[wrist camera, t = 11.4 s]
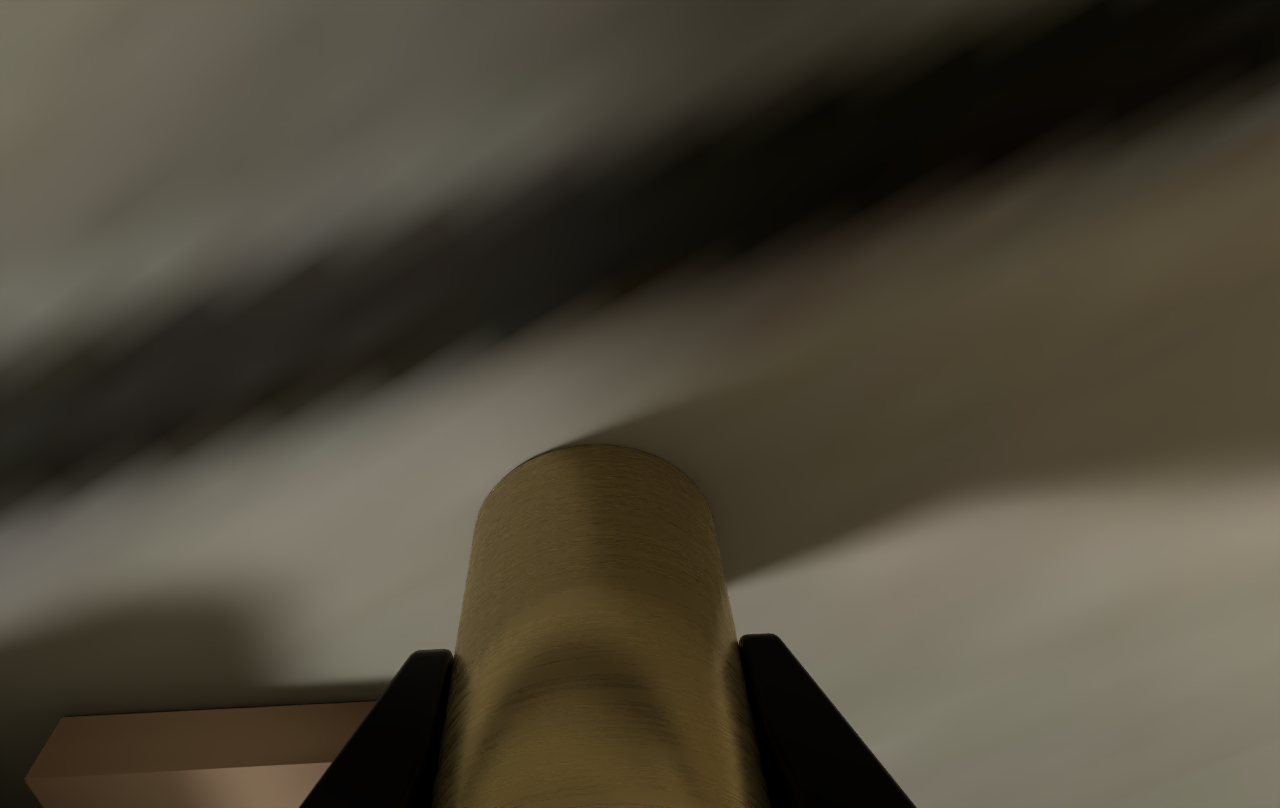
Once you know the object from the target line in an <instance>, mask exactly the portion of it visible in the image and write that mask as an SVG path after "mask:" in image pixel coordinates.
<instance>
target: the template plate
mask: <svg viewBox="0 0 1280 808" xmlns="http://www.w3.org/2000/svg"><path fill="white" fill-rule="evenodd" d="M376 702H377V701H370V702H351V703H331V704H312V705H293V706H273V707H254V708H234V709H215V710H195V711H176V712H157V713H137V714H118V715H98V716H79V717H62V718H61V719H60V721H59V723H58V724H57V726H56V728H55V729H54V731H53V732H52V734H51V736H50V737H49V739H48V741H47V742H46V744H45V746H44V747H43V749H42V751H41V752H40V754H39V755H38V757H37V759H36V760H35V762H34V764H33V765H32V767H31V769H30V770H29V772H28V774H27V775H26V777H25V778H24V780H25V781H26V783H27V784H28V786H29V787H30V789H31V790H32V792H33V793H34V795H35V796H36V798H37V799H38V801H39V802H40V804H41V805H42V807H43V808H299V807H300V805H301V804H302V803H303V801H304V800H305V799H306V797H307V796H308V794H309V793H310V792H311V790H312V789H313V788H314V786H315V785H316V783H317V782H318V781H319V779H320V778H321V777H322V775H323V774H324V773H325V771H326V770H327V768H328V767H329V766H330V764H331V763H332V762H333V760H334V759H335V758H336V756H337V755H338V753H339V752H340V751H341V749H342V748H343V747H344V745H345V744H346V743H347V741H348V740H349V738H350V737H351V736H352V734H353V733H354V732H355V730H356V729H357V727H358V726H359V725H360V723H361V722H362V721H363V719H364V718H365V717H366V715H367V714H368V712H369V711H370V710H371V708H372V707H373V706H374V704H375V703H376Z"/></svg>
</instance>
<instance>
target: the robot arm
mask: <svg viewBox="0 0 1280 808" xmlns="http://www.w3.org/2000/svg"><path fill="white" fill-rule="evenodd" d="M739 651H740V656H741V661H742V666H743V671H744V676H745V681H746V685H747V690H748V695H749V700H750V705H751V710H752V715H753V720H754V725H755V730H756V735H757V740H758V745H759V750H760V754H761V759H762V764H763V769H764V774H765V779H766V784H767V789H768V794H769V799H770V804H771V808H917V807H916V806H915V805H914V804H913V802H912V801H911V800H910V799H909V798H908V796H907V795H906V794H905V793H904V791H903V790H902V789H901V788H900V786H899V785H898V784H897V783H896V781H895V780H894V779H893V778H892V776H891V775H890V774H889V773H888V771H887V770H886V769H885V768H884V767H883V765H882V764H881V763H880V762H879V760H878V759H877V758H876V757H875V755H874V754H873V753H872V752H871V750H870V749H869V748H868V747H867V745H866V744H865V743H864V742H863V741H862V739H861V738H860V737H859V736H858V734H857V733H856V732H855V731H854V729H853V728H852V727H851V726H850V724H849V723H848V722H847V721H846V719H845V718H844V717H843V716H842V714H841V713H840V712H839V711H838V710H837V708H836V707H835V706H834V705H833V703H832V702H831V701H830V700H829V698H828V697H827V696H826V695H825V693H824V692H823V691H822V690H821V688H820V687H819V686H818V685H817V683H816V682H815V681H814V680H813V679H812V677H811V676H810V675H809V674H808V672H807V671H806V670H805V669H804V667H803V666H802V665H801V664H800V662H799V661H798V660H797V659H796V657H795V656H794V655H793V654H792V653H791V651H790V650H789V649H788V648H787V646H786V645H785V644H784V643H783V641H782V640H781V639H780V638H779V637H778V636H777V635H775V634H770V633H768V634H747V635H744V636H742V637H741V638H740V641H739ZM453 661H454V658H453V655H452V653H451V651H449V650H446V649H434V650H419V651H416V652H414V653H412V654H411V655H410V657H409V658H408V659H407V661H406V662H405V663H404V665H403V666H402V667H401V669H400V670H399V671H398V673H397V674H396V676H395V677H394V678H393V680H392V681H391V682H390V684H389V685H388V686H387V688H386V689H385V691H384V692H383V693H382V695H381V696H380V697H379V699H378V700H377V702H376V703H375V704H374V706H373V707H372V708H371V710H370V711H369V712H368V714H367V715H366V717H365V718H364V719H363V721H362V722H361V723H360V725H359V726H358V727H357V729H356V730H355V732H354V733H353V734H352V736H351V737H350V738H349V740H348V741H347V743H346V744H345V745H344V747H343V748H342V749H341V751H340V752H339V753H338V755H337V756H336V758H335V759H334V760H333V762H332V763H331V764H330V766H329V767H328V768H327V770H326V771H325V773H324V774H323V775H322V777H321V778H320V779H319V781H318V782H317V783H316V785H315V786H314V788H313V789H312V790H311V792H310V793H309V794H308V796H307V797H306V799H305V800H304V801H303V803H302V804H301V805H300V807H299V808H430V805H431V799H432V792H433V786H434V780H435V774H436V767H437V761H438V755H439V748H440V742H441V736H442V730H443V723H444V717H445V711H446V705H447V698H448V692H449V686H450V679H451V673H452V667H453Z"/></svg>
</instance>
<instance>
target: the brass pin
mask: <svg viewBox="0 0 1280 808" xmlns="http://www.w3.org/2000/svg"><path fill="white" fill-rule="evenodd" d="M430 808H771V804H770V799H769V794H768V789H767V784H766V779H765V774H764V769H763V764H762V759H761V754H760V750H759V745H758V740H757V735H756V730H755V725H754V720H753V715H752V710H751V705H750V700H749V695H748V690H747V685H746V681H745V676H744V671H743V666H742V661H741V656H740V651H739V646H738V641H737V636H736V631H735V626H734V621H733V617H732V612H731V607H730V602H729V597H728V592H727V587H726V582H725V577H724V572H723V567H722V562H721V557H720V552H719V548H718V543H717V538H716V533H715V528H714V523H713V518H712V514H711V511H710V508H709V506H708V503H707V501H706V500H705V498H704V496H703V495H702V493H701V491H700V490H699V489H698V488H697V486H696V485H695V484H694V483H693V482H692V481H691V480H690V479H689V478H688V477H687V476H686V475H685V474H684V473H683V472H681V471H680V470H678V469H677V468H675V467H674V466H672V465H671V464H669V463H667V462H665V461H664V460H662V459H660V458H658V457H655V456H653V455H650V454H647V453H644V452H642V451H638V450H634V449H630V448H625V447H618V446H610V445H586V446H575V447H570V448H565V449H560V450H556V451H553V452H550V453H546V454H543V455H541V456H538V457H536V458H534V459H532V460H530V461H527V462H526V463H524V464H522V465H521V466H519V467H517V468H516V469H514V470H513V471H511V472H510V473H509V474H508V475H506V476H505V477H504V478H503V479H502V480H501V481H500V482H499V483H498V484H497V485H496V486H495V487H494V488H493V489H492V490H491V492H490V493H489V495H488V496H487V498H486V499H485V500H484V502H483V505H482V507H481V509H480V511H479V513H478V517H477V520H476V523H475V529H474V535H473V542H472V548H471V554H470V560H469V567H468V573H467V579H466V585H465V592H464V598H463V604H462V611H461V617H460V623H459V629H458V636H457V642H456V648H455V654H454V661H453V667H452V673H451V679H450V686H449V692H448V698H447V705H446V711H445V717H444V723H443V730H442V736H441V742H440V748H439V755H438V761H437V767H436V774H435V780H434V786H433V792H432V799H431V805H430Z"/></svg>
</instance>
